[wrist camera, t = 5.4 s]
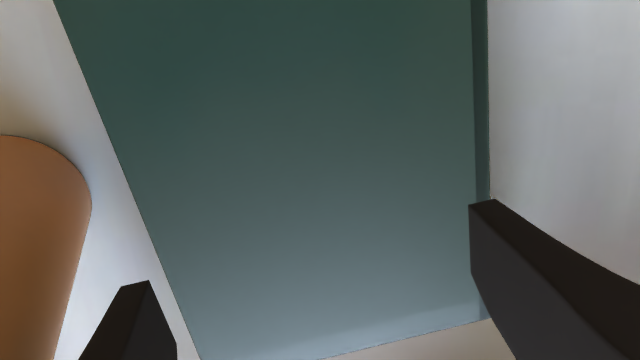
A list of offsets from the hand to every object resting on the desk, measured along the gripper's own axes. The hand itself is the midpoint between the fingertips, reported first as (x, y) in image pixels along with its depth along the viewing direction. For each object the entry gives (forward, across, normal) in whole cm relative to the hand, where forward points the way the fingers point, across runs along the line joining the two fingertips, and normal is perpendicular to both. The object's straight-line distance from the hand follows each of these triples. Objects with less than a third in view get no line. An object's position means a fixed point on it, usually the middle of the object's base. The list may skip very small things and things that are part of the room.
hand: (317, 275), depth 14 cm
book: (+6, -1, 0) cm, 7 cm away
